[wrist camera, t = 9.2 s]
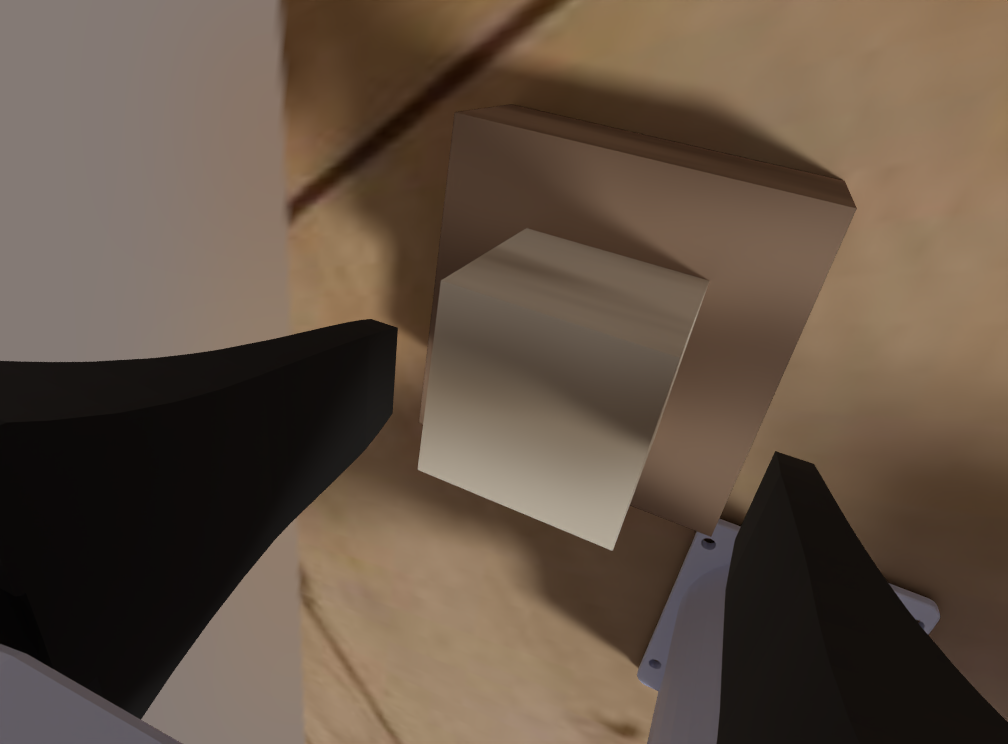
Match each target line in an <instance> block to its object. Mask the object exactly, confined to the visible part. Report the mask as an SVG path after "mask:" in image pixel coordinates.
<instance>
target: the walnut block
mask: <svg viewBox="0 0 1008 744" xmlns="http://www.w3.org/2000/svg"><path fill="white" fill-rule="evenodd" d="M856 209H857V208H856V206H855V203H854V201H853V199H852V197H851V194H850V192H849V190H848V188H847V185H846V183H845V181H843V180H839V179H834V178H830V177H826V176H821V175H817V174H813V173H808V172H804V171H799V170H795V169H791V168H786V167H782V166H778V165H773V164H769V163H765V162H760V161H756V160H752V159H747V158H743V157H738V156H734V155H730V154H725V153H721V152H717V151H712V150H708V149H704V148H699V147H695V146H691V145H686V144H682V143H677V142H673V141H669V140H664V139H660V138H656V137H651V136H647V135H643V134H638V133H634V132H630V131H625V130H621V129H616V128H612V127H608V126H603V125H599V124H595V123H590V122H586V121H582V120H577V119H573V118H569V117H564V116H560V115H555V114H551V113H547V112H542V111H538V110H534V109H529V108H525V107H521V106H516V105H512V104H510V105H503V106H496V107H489V108H482V109H475V110H468V111H460V112H455V114H454V123H453V132H452V140H451V149H450V158H449V166H448V175H447V184H446V192H445V201H444V210H443V218H442V227H441V236H440V244H439V253H438V262H437V271H436V279H435V288H434V297H433V305H432V314H431V323H430V331H429V340H428V349H427V357H426V366H425V375H424V383H423V392H422V401H421V409H420V418H419V423H421V424H423V422H424V414H425V406H426V398H427V389H428V381H429V373H430V365H431V357H432V349H433V341H434V333H435V325H436V316H437V308H438V300H439V292H440V284H441V280H443V279H444V278H446V277H447V276H449V275H451V274H452V273H454V272H456V271H457V270H459V269H461V268H462V267H464V266H465V265H467V264H469V263H470V262H472V261H474V260H475V259H477V258H478V257H480V256H482V255H483V254H485V253H487V252H488V251H490V250H492V249H493V248H495V247H496V246H498V245H500V244H501V243H503V242H505V241H506V240H508V239H510V238H511V237H513V236H514V235H516V234H518V233H519V232H521V231H523V230H524V229H526V228H528V229H531V230H535V231H538V232H542V233H545V234H549V235H552V236H556V237H559V238H563V239H566V240H570V241H573V242H577V243H580V244H583V245H587V246H590V247H594V248H597V249H601V250H604V251H608V252H611V253H615V254H618V255H622V256H625V257H629V258H632V259H636V260H639V261H643V262H646V263H650V264H653V265H656V266H660V267H663V268H667V269H670V270H674V271H677V272H681V273H684V274H688V275H691V276H695V277H698V278H702V279H705V280H709V284H708V287H707V290H706V292H705V295H704V298H703V301H702V304H701V307H700V310H699V312H698V315H697V318H696V321H695V324H694V327H693V330H692V332H691V335H690V338H689V341H688V344H687V347H686V350H685V352H684V355H683V358H682V361H681V364H680V367H679V369H678V372H677V375H676V378H675V381H674V384H673V387H672V389H671V392H670V395H669V398H668V401H667V404H666V407H665V409H664V412H663V415H662V418H661V421H660V424H659V427H658V429H657V432H656V435H655V438H654V441H653V444H652V446H651V449H650V452H649V454H648V457H647V460H646V462H645V465H644V468H643V470H642V473H641V476H640V479H639V481H638V484H637V487H636V489H635V492H634V495H633V497H632V500H631V503H630V505H631V506H633V507H636V508H638V509H641V510H643V511H646V512H648V513H651V514H654V515H656V516H659V517H661V518H664V519H666V520H669V521H671V522H674V523H677V524H679V525H682V526H684V527H687V528H689V529H692V530H695V531H697V532H700V533H702V534H705V535H707V536H710V537H711V536H712V534H713V532H714V529H715V527H716V525H717V523H718V520H719V518H720V516H721V514H722V511H723V509H724V507H725V505H726V502H727V500H728V498H729V496H730V493H731V491H732V489H733V487H734V484H735V482H736V480H737V478H738V475H739V473H740V471H741V468H742V466H743V464H744V462H745V459H746V457H747V455H748V453H749V450H750V448H751V446H752V444H753V441H754V439H755V437H756V435H757V432H758V430H759V428H760V426H761V423H762V421H763V419H764V417H765V414H766V412H767V410H768V408H769V405H770V403H771V401H772V399H773V396H774V394H775V392H776V390H777V387H778V385H779V383H780V380H781V378H782V376H783V374H784V371H785V369H786V367H787V365H788V362H789V360H790V358H791V356H792V353H793V351H794V349H795V347H796V344H797V342H798V340H799V338H800V335H801V333H802V331H803V329H804V326H805V324H806V322H807V320H808V317H809V315H810V313H811V311H812V308H813V306H814V304H815V302H816V299H817V297H818V295H819V292H820V290H821V288H822V286H823V283H824V281H825V279H826V277H827V274H828V272H829V270H830V268H831V265H832V263H833V261H834V259H835V256H836V254H837V252H838V250H839V247H840V245H841V243H842V241H843V238H844V236H845V234H846V232H847V229H848V227H849V225H850V223H851V220H852V218H853V216H854V213H855V211H856Z"/></svg>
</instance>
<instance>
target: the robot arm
mask: <svg viewBox="0 0 1008 744" xmlns="http://www.w3.org/2000/svg"><path fill="white" fill-rule="evenodd" d="M397 332H398V328H397V327H394V326H391V325H388V324H385V323H382V322H379V321H375V320H372V319H367V320H359V321H353V322H347V323H342V324H338V325H333V326H329V327H324V328H320V329H315V330H311V331H307V332H302V333H298V334H294V335H289V336H285V337H281V338H276V339H272V340H267V341H261V342H256V343H252V344H246V345H241V346H236V347H231V348H226V349H221V350H215V351H208V352H201V353H194V354H187V355H178V356H169V357H160V358H150V359H132V360H115V361H99V362H98V361H97V362H14V361H0V744H182V743H180V742H179V741H177V740H175V739H173V738H172V737H170V736H168V735H166V734H164V733H163V732H161V731H159V730H158V729H156V728H154V727H153V726H151V725H149V724H147V723H146V722H144V721H142V720H141V718H142V717H143V715H144V714H145V713H146V711H147V710H148V708H149V707H150V705H151V704H152V702H153V701H154V699H155V698H156V696H157V695H158V693H159V692H160V690H161V689H162V687H163V686H164V684H165V683H166V681H167V680H168V679H169V677H170V675H171V674H172V673H173V671H174V670H175V668H176V667H177V666H178V664H179V663H180V661H181V660H182V659H183V657H184V656H185V655H186V653H187V652H188V650H189V649H190V648H191V646H192V645H193V643H194V642H195V641H196V639H197V638H198V637H199V635H200V634H201V632H202V631H203V630H204V628H205V627H206V626H207V624H208V623H209V621H210V620H211V619H212V617H213V616H214V615H215V614H216V612H217V611H218V610H219V608H220V607H221V606H222V605H223V603H224V602H225V601H226V600H227V598H228V597H229V596H230V594H231V593H232V592H233V590H234V589H235V588H236V587H237V585H238V584H239V583H240V581H241V580H242V579H243V577H244V576H245V575H246V574H247V573H248V572H249V570H250V569H251V568H252V567H253V566H254V564H255V563H256V562H257V561H258V559H259V558H260V557H261V556H262V554H263V553H264V552H265V551H266V550H267V549H268V547H269V546H270V545H271V544H272V543H273V541H274V540H275V539H276V538H277V537H278V536H279V535H280V534H281V533H282V531H283V530H284V529H285V528H286V527H287V526H288V525H289V524H290V523H291V522H292V521H293V520H294V519H295V518H296V517H297V516H298V515H299V514H300V513H301V512H302V511H303V510H305V509H306V508H307V507H308V506H309V505H310V504H311V503H312V502H313V501H314V500H315V499H316V498H317V497H318V496H319V495H320V494H321V493H322V492H323V491H324V490H325V489H326V488H327V487H328V486H329V485H330V484H331V483H332V482H333V481H334V480H335V479H336V478H337V477H338V476H339V475H340V474H341V473H343V472H344V471H345V470H346V469H347V468H348V467H349V466H350V465H351V464H352V463H353V462H354V461H355V460H356V459H357V458H358V457H359V456H360V455H361V453H362V452H363V451H364V450H365V449H366V448H367V447H368V445H369V444H370V443H371V442H372V440H373V439H374V438H375V437H376V435H377V434H378V433H379V431H380V430H381V429H382V427H383V426H384V424H385V423H386V422H387V420H388V419H389V418H390V416H391V415H392V412H393V396H394V380H395V364H396V348H397ZM705 538H710V539H712V540H714V541H715V542H714V543H707V542H706V541H704V540H703V539H705ZM939 619H940V613H939V609H938V606H937V604H936V603H935V602H934V601H932V600H931V599H929V598H926V597H924V596H921V595H919V594H916V593H913V592H911V591H908V590H906V589H903V588H900V587H898V586H895V585H892V584H890V583H888V582H887V581H886V579H885V578H884V576H883V575H882V574H881V572H880V571H879V569H878V568H877V566H876V565H875V563H874V562H873V560H872V559H871V557H870V556H869V554H868V553H867V551H866V550H865V548H864V547H863V545H862V544H861V542H860V541H859V539H858V537H857V536H856V534H855V533H854V531H853V529H852V528H851V526H850V524H849V523H848V521H847V520H846V518H845V516H844V515H843V513H842V511H841V510H840V508H839V506H838V504H837V503H836V501H835V499H834V498H833V496H832V494H831V492H830V491H829V489H828V487H827V486H826V484H825V482H824V480H823V479H822V477H821V475H820V473H819V472H818V470H817V469H816V467H815V465H814V464H812V463H809V462H806V461H803V460H800V459H797V458H794V457H791V456H788V455H785V454H782V453H779V452H776V451H775V453H774V455H773V457H772V460H771V462H770V464H769V466H768V468H767V471H766V473H765V475H764V477H763V479H762V481H761V484H760V486H759V488H758V490H757V492H756V495H755V497H754V499H753V501H752V503H751V506H750V508H749V510H748V512H747V514H746V516H745V519H744V521H743V523H742V525H741V526H738V525H735V524H733V523H730V522H727V521H725V520H722V519H720V518H719V520H718V523H717V525H716V527H715V529H714V532H713V534H712V536H711V537H710V536H707V535H705V534H702V533H700V532H696V534H695V537H694V539H693V541H692V544H691V546H690V548H689V551H688V553H687V555H686V558H685V560H684V562H683V565H682V567H681V569H680V572H679V574H678V577H677V579H676V581H675V584H674V586H673V588H672V591H671V593H670V595H669V598H668V600H667V602H666V605H665V607H664V609H663V612H662V614H661V617H660V619H659V621H658V624H657V626H656V628H655V631H654V633H653V635H652V638H651V640H650V642H649V645H648V647H647V649H646V652H645V654H644V657H643V659H642V661H641V664H640V666H639V669H638V673H637V677H638V679H639V680H640V681H641V682H642V683H643V684H644V685H646V686H648V687H650V688H653V689H655V690H657V691H658V696H657V700H656V705H655V710H654V714H653V719H652V724H651V728H650V733H649V737H648V742H647V744H1008V722H1007V721H1006V720H1005V719H1004V718H1003V717H1002V716H1001V715H1000V714H999V713H998V712H997V711H996V710H995V709H994V708H993V707H992V706H991V705H990V704H989V703H988V702H987V701H986V700H985V699H984V698H983V697H982V696H981V695H980V693H979V692H978V691H977V690H976V689H975V688H974V687H973V686H972V685H971V684H970V683H969V682H968V680H967V679H966V678H965V677H964V676H963V675H962V674H961V673H960V672H959V671H958V669H957V668H956V667H955V666H954V665H953V664H952V663H951V661H950V660H949V659H948V658H947V657H946V656H945V654H944V653H943V652H942V651H941V650H940V648H939V647H938V646H937V645H936V644H935V643H934V641H933V640H932V639H931V638H930V637H929V633H930V632H931V631H932V629H933V628H934V627H935V625H936V624H937V623H938V621H939ZM916 620H920V622H919V623H918V622H917V621H916ZM653 659H654V660H653ZM655 660H657V661H655ZM658 661H659V662H658Z"/></svg>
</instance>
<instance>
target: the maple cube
mask: <svg viewBox="0 0 1008 744" xmlns="http://www.w3.org/2000/svg"><path fill="white" fill-rule="evenodd" d="M708 284H709V280H705V279H702V278H698V277H695V276H691V275H688V274H684V273H681V272H677V271H674V270H670V269H667V268H663V267H660V266H656V265H653V264H650V263H646V262H643V261H639V260H636V259H632V258H629V257H625V256H622V255H618V254H615V253H611V252H608V251H604V250H601V249H597V248H594V247H590V246H587V245H583V244H580V243H577V242H573V241H570V240H566V239H563V238H559V237H556V236H552V235H549V234H545V233H542V232H538V231H535V230H531V229H528V228H526V229H524V230H523V231H521V232H519V233H518V234H516V235H514V236H513V237H511V238H510V239H508V240H506V241H505V242H503V243H501V244H500V245H498V246H496V247H495V248H493V249H492V250H490V251H488V252H487V253H485V254H483V255H482V256H480V257H478V258H477V259H475V260H474V261H472V262H470V263H469V264H467V265H465V266H464V267H462V268H461V269H459V270H457V271H456V272H454V273H452V274H451V275H449V276H447V277H446V278H444V279H443V280H441V284H440V292H439V300H438V308H437V316H436V325H435V333H434V341H433V349H432V357H431V365H430V373H429V381H428V389H427V398H426V406H425V414H424V422H423V430H422V438H421V446H420V454H419V462H418V470H419V471H422V472H424V473H427V474H429V475H431V476H434V477H436V478H439V479H441V480H443V481H446V482H448V483H451V484H453V485H455V486H458V487H460V488H463V489H465V490H467V491H470V492H472V493H475V494H477V495H479V496H482V497H484V498H487V499H489V500H491V501H494V502H496V503H499V504H501V505H503V506H506V507H508V508H511V509H513V510H515V511H518V512H520V513H523V514H525V515H527V516H530V517H532V518H535V519H537V520H539V521H542V522H544V523H547V524H549V525H551V526H554V527H556V528H559V529H561V530H563V531H566V532H568V533H571V534H573V535H575V536H578V537H580V538H583V539H585V540H587V541H590V542H592V543H595V544H597V545H599V546H602V547H604V548H607V549H609V550H611V551H613V549H614V546H615V543H616V540H617V538H618V535H619V532H620V530H621V527H622V524H623V522H624V519H625V516H626V514H627V511H628V508H629V505H630V503H631V500H632V497H633V495H634V492H635V489H636V487H637V484H638V481H639V479H640V476H641V473H642V470H643V468H644V465H645V462H646V460H647V457H648V454H649V452H650V449H651V446H652V444H653V441H654V438H655V435H656V432H657V429H658V427H659V424H660V421H661V418H662V415H663V412H664V409H665V407H666V404H667V401H668V398H669V395H670V392H671V389H672V387H673V384H674V381H675V378H676V375H677V372H678V369H679V367H680V364H681V361H682V358H683V355H684V352H685V350H686V347H687V344H688V341H689V338H690V335H691V332H692V330H693V327H694V324H695V321H696V318H697V315H698V312H699V310H700V307H701V304H702V301H703V298H704V295H705V292H706V290H707V287H708Z"/></svg>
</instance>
